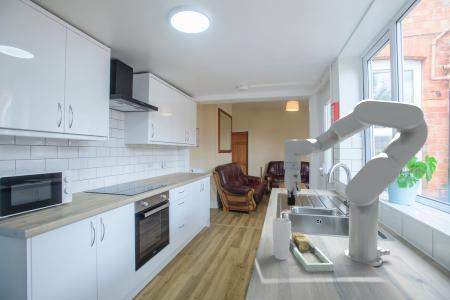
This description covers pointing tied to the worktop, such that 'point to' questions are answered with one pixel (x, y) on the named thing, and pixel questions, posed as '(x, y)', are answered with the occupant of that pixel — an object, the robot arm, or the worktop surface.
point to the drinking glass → (281, 237)
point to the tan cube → (302, 244)
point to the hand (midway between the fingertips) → (291, 205)
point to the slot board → (311, 250)
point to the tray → (324, 266)
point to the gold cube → (296, 236)
